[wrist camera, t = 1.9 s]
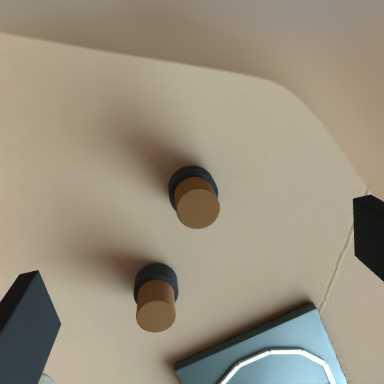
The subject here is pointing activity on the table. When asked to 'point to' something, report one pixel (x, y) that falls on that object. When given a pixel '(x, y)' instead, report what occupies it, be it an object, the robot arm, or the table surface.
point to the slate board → (269, 355)
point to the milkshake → (46, 380)
